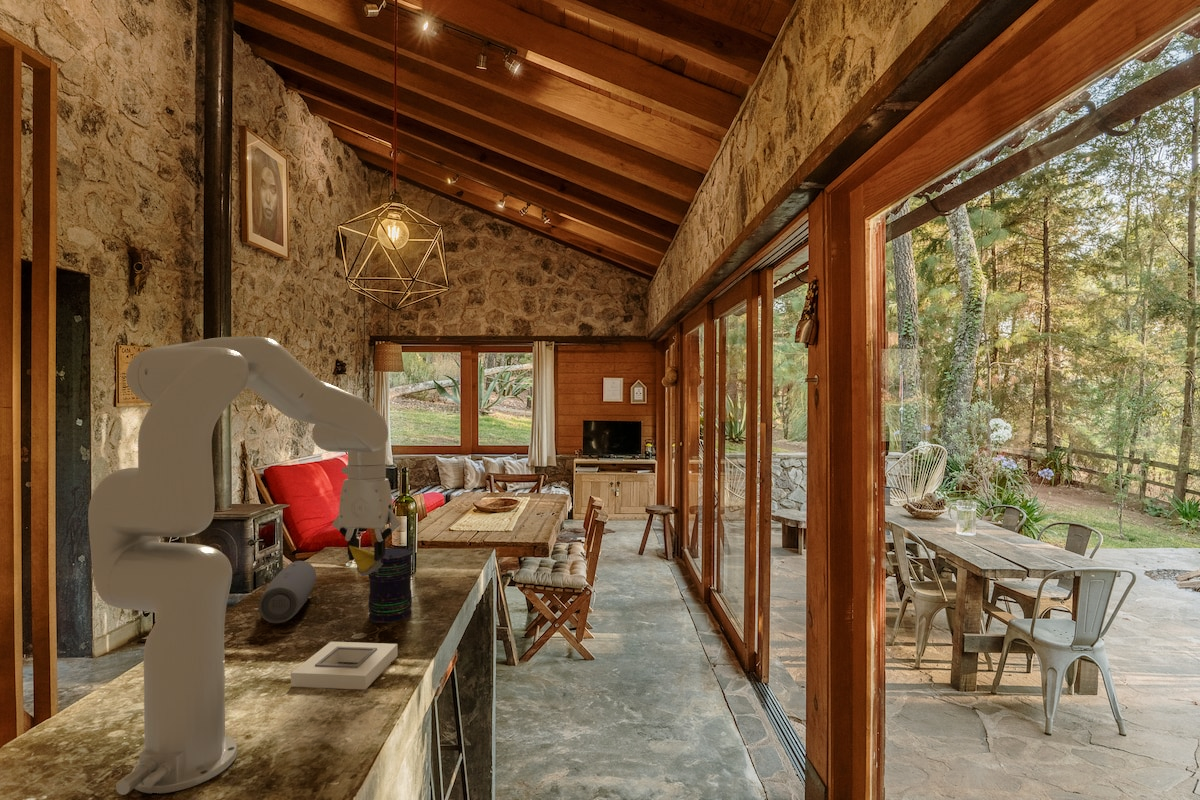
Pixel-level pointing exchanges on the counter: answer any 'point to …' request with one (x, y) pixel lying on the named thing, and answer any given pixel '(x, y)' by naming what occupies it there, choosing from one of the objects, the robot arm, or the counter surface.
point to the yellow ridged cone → (365, 561)
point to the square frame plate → (344, 665)
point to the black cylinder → (391, 587)
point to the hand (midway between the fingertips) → (366, 558)
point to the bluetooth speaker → (287, 592)
